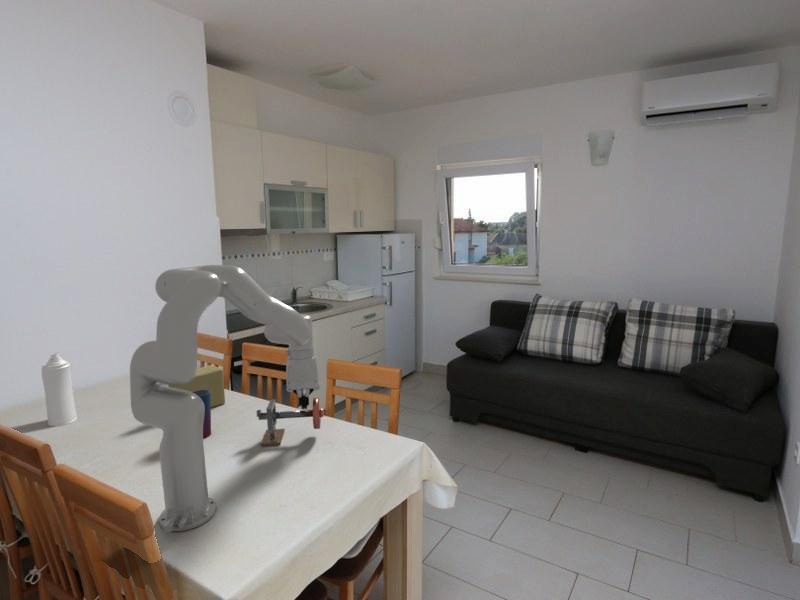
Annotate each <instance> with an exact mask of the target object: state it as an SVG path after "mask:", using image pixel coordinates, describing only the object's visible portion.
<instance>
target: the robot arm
mask: <svg viewBox="0 0 800 600" xmlns="http://www.w3.org/2000/svg"><path fill="white" fill-rule="evenodd" d="M154 288H155V292H156V295H157V296H158V297H159V298H160V300H162V301H164V302H166V303H165V304H164V305H163V307H162V308H161V311H160V312H159V315H158V318H157V322H156V333H155V334H156V336H155V338H156V339H155V340H151V341H147V342H146V341H145V342H144V343H142V344H141V345H139V346H138V347H137V348H136V349H135V351H134V352H133V354H132V357H131V360H130V364H129V385H130V386H129V389H130V392H129V393H130V394H129V395H130V407H131V412H132V415H133V417H134V419H136V421H137V422H139V423H141V424H143V425H147V426H149V427H153V428H157V429H160V430H162V431H163V435H162V439H161V441H160V444H159V449H158V450H159V451H158V453H159V454H158V455H159V462H160V470H161V471H160V472H161V480H162V488H163V498H164V507H165V508H164V509H163V510H162V512H161V513H160V515H159V518H158V521H159V525H160V527H161V528H162V531H163V532H164V533H165V534H170V533H171V532H183V531H188V530H192V529H194V528H197V527H200V526H202V525H203V524H205V523H206V522H208V521H209V520H211V518H213V516H214V515H215V514H216V512H217V504H216V501H215V500H214V499H213V498H211V497H209V492H208V489H209V488H208V480H207V479H208V478H207V469H206V457H205V447H204V438H203V423H204V415H205V407H204V403H203V401H202V399H201V398H200V397H199V396H198V395H196V394H194V393H192V392H190V391H186V390H182V389H177V388H171V387H168V384H170V385H185V384H188V383H189V382H191V381H192V380H193V379H194V377H195V375H196V372H197V369H198V327H199V326H198V325H199V322H200V319H201V317H202V315H203V314H204V313H205V311H206V310H208V307H210V306H211V305H212V304H213V303H214V302H215V301H216V300H217V299H218V298H223V299H225V300H227V302H229V303H230V304H231V305H232V306H233V307H234V308H236V309H237V310H238V311H239V312H240V313H241V314H242V315H243V316H245V318H247V319H249V320H251V321H254V322H256V323H258V324H261V325H265V326H264V330H263V333H264V337H265V339H266V340H267V341H268V342H271V343H274V344H279V345H280V344H281V345H288V349H287V350H284V355H287V356H288V357H287V359H286V368H285V369H286V370H285V376H286V377H285V380H286V391H287V392H288V393H294V394H295V395H296V396H297V397H298V401H299V403H298V404H299V407H301V410H308V409H307V408H308V406H310V397H309V396H310V395H312V393H313V392H314V391H315V392H316V391H319V390H321V385H320V383H319V382H320V374H319V372H320V371H319V367H318V360H317V357H316V355H315V354H314V339H313V338H314V336H313V321H312V317H311V315H308V314H301V313H299V312H298V311H297V310H295V309H294V308H293V307H291V306H289V305H287V304H285V302H284V303H283V302H282V301H280V300H278V299H277V298H275V297H273V296H270V295H269V294H268V293H266V291H264V289H263V288H262V287H261V286H260V285H259V284H258V283H257V282H256V281H255V280H254V279H253V278H252V277H251V276H250V275H249V274H248V273H247V272H246V271H245V270H244V269H243V268H241V267H239V266H235V265H229V264H228V265H227V264H208V265H207V264H206V265H198V266H191V267H181V268H171V269H167V270H165V271H164V272H162V273H161V274H160V275H159V276H158V277H157V279H156V280H155V287H154ZM303 390H305V393H303Z"/></svg>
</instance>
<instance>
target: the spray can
mask: <svg viewBox="0 0 800 600" xmlns="http://www.w3.org/2000/svg"><path fill="white" fill-rule="evenodd" d="M41 378H42V379H41V380H42V383H43V388H44V394H45V405H46V414H47V415H46V416H47V425H48V426H51V427H59V426H61V427H62V426H65V425H69V424H72V423H73V422H75V421H77V419H78V416H77V408H76V404H75V403H76V402H75V397H74V392H73V383H72V373H71V363H70V361H69V360H65V359H63V357H61V355H60V354H59V351H55V352H52V353H51V354H50V358H49V359H48V361H47V362H46V363H44V364H42V365H41Z"/></svg>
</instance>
